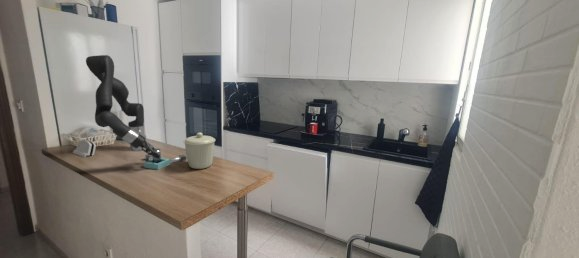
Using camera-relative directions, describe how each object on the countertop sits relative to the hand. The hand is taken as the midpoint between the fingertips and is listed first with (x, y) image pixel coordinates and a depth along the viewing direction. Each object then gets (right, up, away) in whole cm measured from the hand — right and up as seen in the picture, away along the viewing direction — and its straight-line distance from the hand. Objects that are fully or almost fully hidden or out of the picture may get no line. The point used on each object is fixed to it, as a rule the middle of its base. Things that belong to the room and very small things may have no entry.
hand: (158, 155), depth 142 cm
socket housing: (-1, -6, +1) cm, 7 cm away
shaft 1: (-9, -5, +8) cm, 13 cm away
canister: (+24, -7, +3) cm, 26 cm away
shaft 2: (+7, -5, +9) cm, 12 cm away
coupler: (-1, -6, +1) cm, 7 cm away
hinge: (-57, -1, +16) cm, 59 cm away
